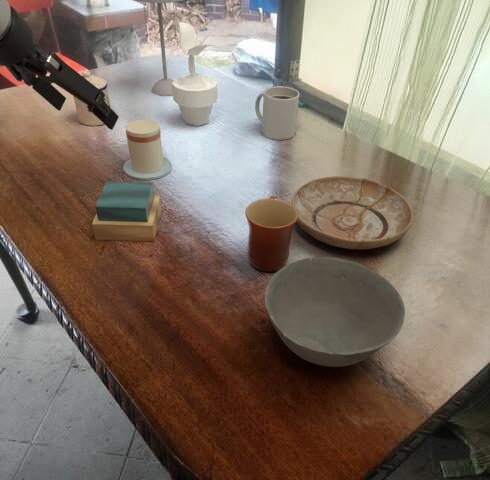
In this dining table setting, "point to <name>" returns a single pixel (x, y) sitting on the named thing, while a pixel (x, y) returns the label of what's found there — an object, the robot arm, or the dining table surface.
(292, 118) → the mug
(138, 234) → the stack
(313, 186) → the ceramic bowl
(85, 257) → the dining table surface
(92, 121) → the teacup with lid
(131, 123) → the canister
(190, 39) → the potted plant
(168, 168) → the coaster
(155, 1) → the lamp
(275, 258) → the mug
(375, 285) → the bowl
